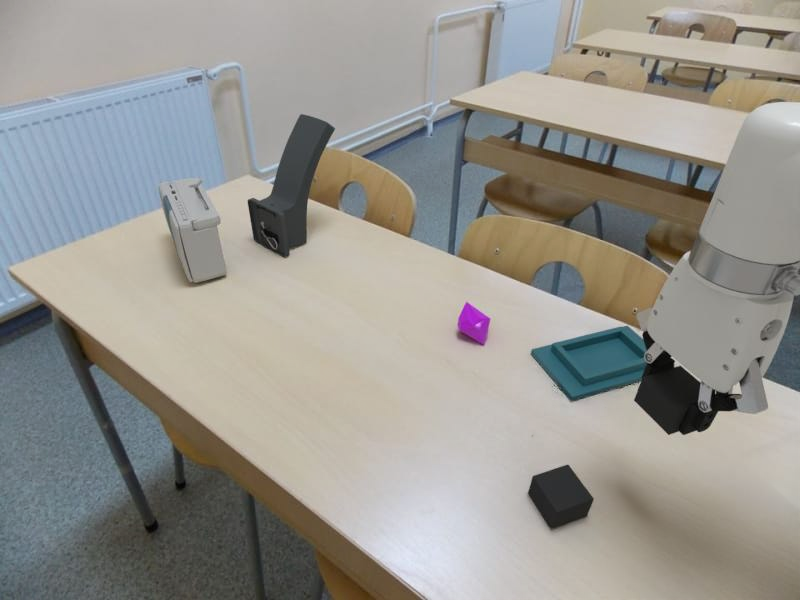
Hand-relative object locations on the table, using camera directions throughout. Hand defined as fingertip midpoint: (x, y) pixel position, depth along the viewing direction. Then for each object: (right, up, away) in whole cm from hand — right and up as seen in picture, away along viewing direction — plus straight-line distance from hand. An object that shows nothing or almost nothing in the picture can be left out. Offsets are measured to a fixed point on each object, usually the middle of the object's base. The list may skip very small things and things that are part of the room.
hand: (670, 407), depth 54 cm
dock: (+4, +1, +28) cm, 28 cm away
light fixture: (-50, +25, +60) cm, 82 cm away
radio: (-69, +20, +52) cm, 88 cm away
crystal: (-16, +5, +34) cm, 37 cm away
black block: (0, 0, 0) cm, 0 cm away
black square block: (-10, -13, +8) cm, 18 cm away
